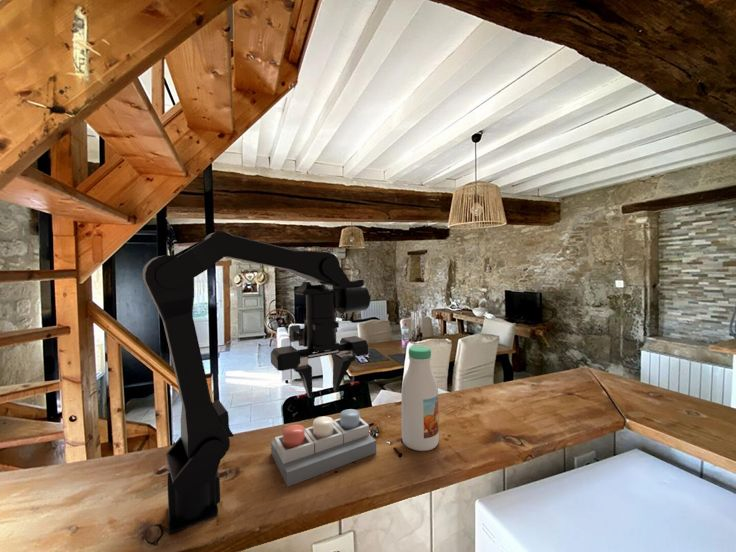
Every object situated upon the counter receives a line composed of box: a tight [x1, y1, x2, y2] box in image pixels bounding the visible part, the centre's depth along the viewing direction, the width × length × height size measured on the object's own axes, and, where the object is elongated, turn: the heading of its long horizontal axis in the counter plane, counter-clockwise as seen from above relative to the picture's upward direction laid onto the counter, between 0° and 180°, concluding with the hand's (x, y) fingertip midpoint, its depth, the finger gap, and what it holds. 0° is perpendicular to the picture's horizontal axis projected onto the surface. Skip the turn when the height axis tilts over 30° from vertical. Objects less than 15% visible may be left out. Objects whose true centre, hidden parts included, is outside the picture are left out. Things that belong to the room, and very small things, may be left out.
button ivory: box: [312, 415, 334, 439], centre depth 63 cm, size 4×4×2 cm
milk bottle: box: [401, 345, 440, 452], centre depth 66 cm, size 8×8×20 cm
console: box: [270, 417, 377, 487], centre depth 63 cm, size 18×11×4 cm, turn 121°
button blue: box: [339, 408, 361, 430], centre depth 66 cm, size 4×4×2 cm
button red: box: [282, 424, 305, 449], centre depth 60 cm, size 4×4×2 cm
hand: (322, 394), depth 63 cm, fingers open, 5 cm apart
